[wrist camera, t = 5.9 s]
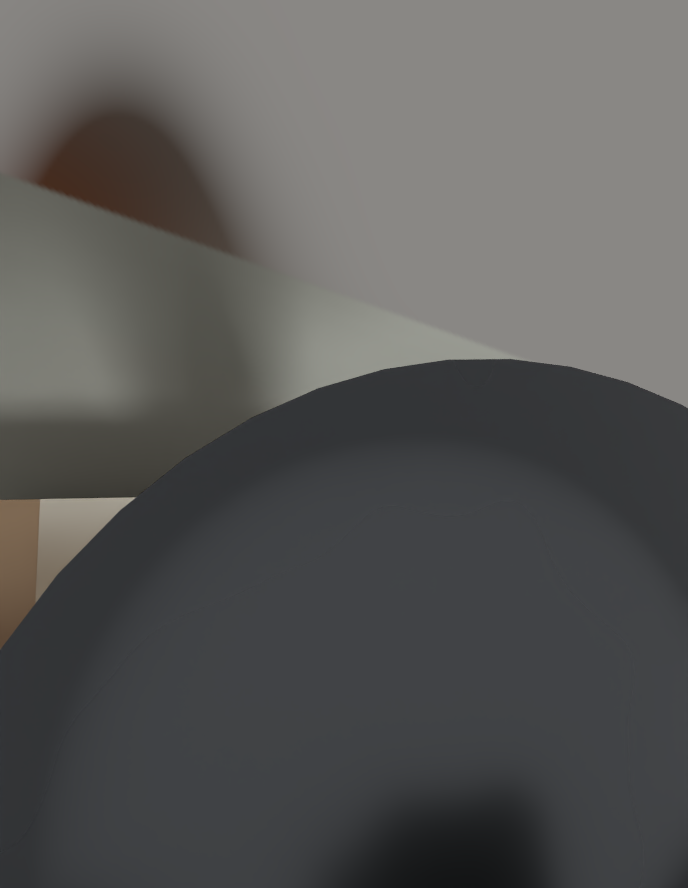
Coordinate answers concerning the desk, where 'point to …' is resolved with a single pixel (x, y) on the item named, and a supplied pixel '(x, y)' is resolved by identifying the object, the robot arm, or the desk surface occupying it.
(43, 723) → the canister
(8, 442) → the desk surface
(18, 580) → the frame
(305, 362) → the desk surface
